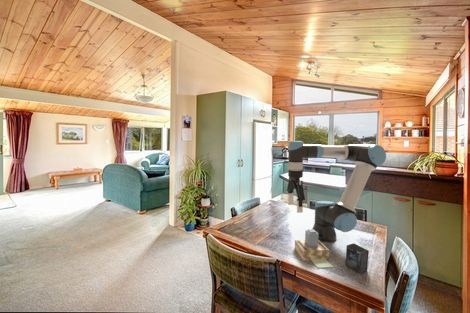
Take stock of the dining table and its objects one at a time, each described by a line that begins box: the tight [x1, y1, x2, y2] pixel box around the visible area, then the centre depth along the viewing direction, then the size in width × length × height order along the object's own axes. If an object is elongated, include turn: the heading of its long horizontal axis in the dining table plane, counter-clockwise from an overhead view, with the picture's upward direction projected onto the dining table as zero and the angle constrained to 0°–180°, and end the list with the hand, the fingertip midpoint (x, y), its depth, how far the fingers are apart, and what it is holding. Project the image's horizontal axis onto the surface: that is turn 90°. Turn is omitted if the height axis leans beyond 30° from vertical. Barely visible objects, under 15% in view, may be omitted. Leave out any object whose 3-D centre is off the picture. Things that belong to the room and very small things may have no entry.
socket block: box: [294, 239, 330, 261], centre depth 119 cm, size 14×12×5 cm
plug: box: [304, 228, 319, 248], centre depth 119 cm, size 5×5×13 cm
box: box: [345, 242, 370, 274], centre depth 106 cm, size 8×6×11 cm
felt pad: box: [310, 259, 334, 269], centre depth 110 cm, size 8×8×1 cm
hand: (295, 208), depth 119 cm, fingers open, 13 cm apart
